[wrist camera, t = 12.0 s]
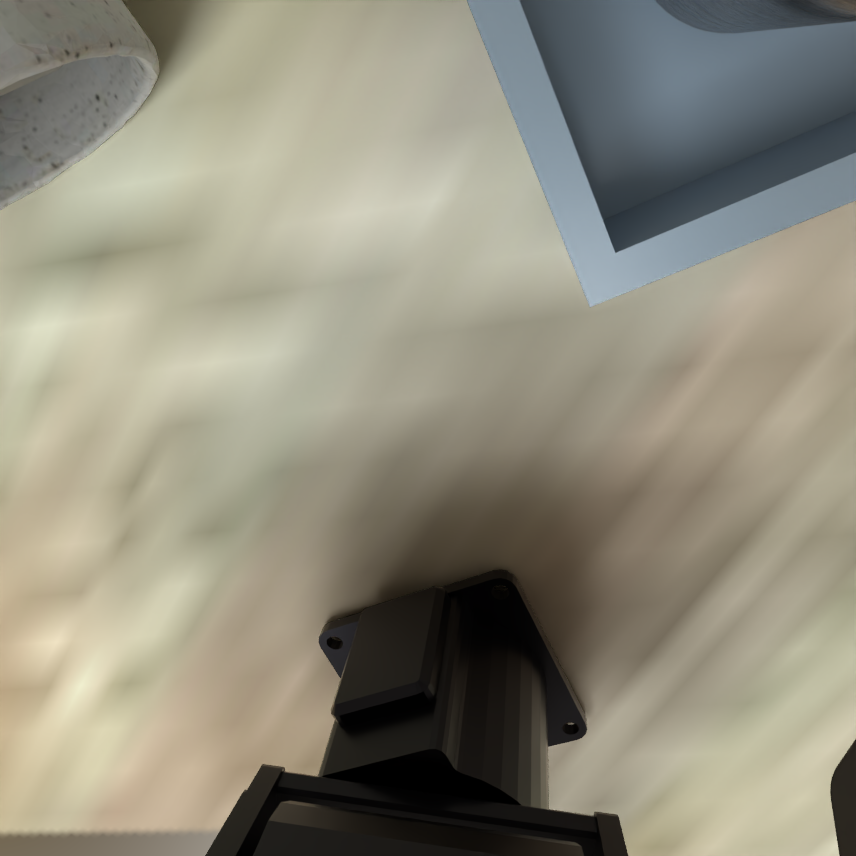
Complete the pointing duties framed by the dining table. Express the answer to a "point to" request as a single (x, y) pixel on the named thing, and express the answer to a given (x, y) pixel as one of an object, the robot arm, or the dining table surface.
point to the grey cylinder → (65, 85)
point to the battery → (758, 13)
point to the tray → (672, 130)
